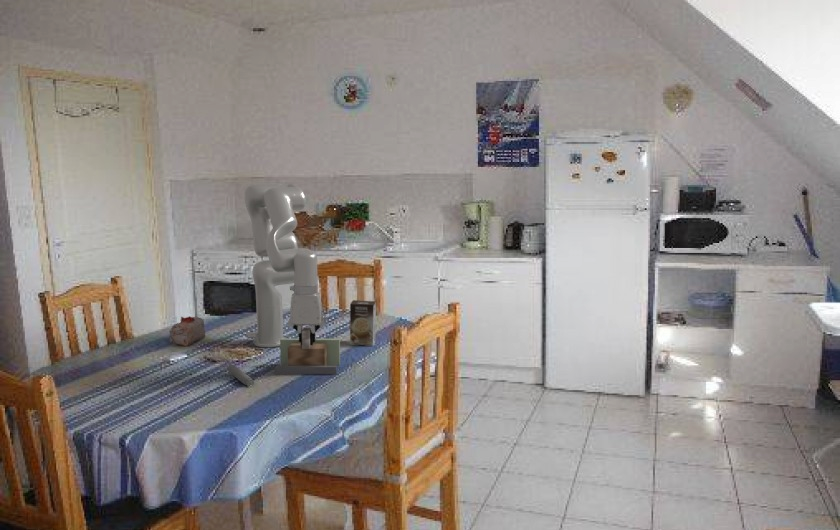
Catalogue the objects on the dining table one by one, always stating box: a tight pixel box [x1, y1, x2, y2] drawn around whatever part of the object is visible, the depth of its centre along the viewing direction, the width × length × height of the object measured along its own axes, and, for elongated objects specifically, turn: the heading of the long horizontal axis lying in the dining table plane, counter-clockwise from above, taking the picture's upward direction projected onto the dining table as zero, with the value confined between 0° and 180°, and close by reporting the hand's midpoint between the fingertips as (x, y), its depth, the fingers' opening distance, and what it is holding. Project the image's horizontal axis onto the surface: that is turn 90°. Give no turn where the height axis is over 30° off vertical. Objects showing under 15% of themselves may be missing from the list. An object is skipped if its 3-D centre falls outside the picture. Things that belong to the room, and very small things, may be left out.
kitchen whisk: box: [205, 346, 255, 388], centre depth 217 cm, size 6×34×6 cm, turn 39°
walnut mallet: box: [288, 326, 328, 366], centre depth 221 cm, size 12×6×13 cm, turn 91°
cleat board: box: [274, 337, 341, 375], centre depth 222 cm, size 20×11×9 cm, turn 91°
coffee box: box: [349, 299, 377, 347], centre depth 251 cm, size 9×6×16 cm
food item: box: [169, 316, 206, 347], centre depth 252 cm, size 14×8×10 cm, turn 166°
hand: (307, 343), depth 220 cm, fingers closed on walnut mallet, 2 cm apart
